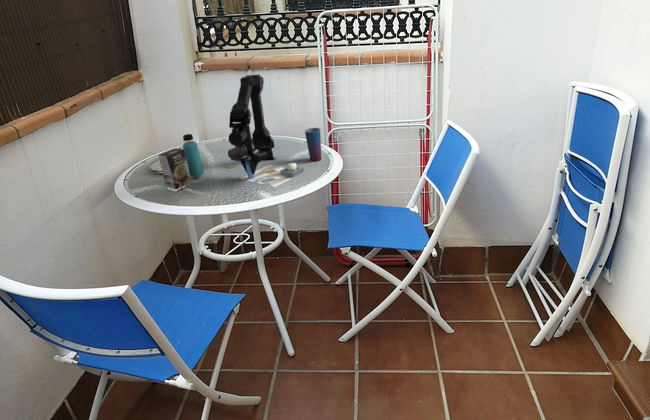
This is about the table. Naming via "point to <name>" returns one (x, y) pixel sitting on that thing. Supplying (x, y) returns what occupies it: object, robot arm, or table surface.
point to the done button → (291, 167)
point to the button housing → (292, 174)
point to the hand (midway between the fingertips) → (250, 173)
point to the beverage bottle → (192, 156)
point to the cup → (314, 143)
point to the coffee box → (175, 168)
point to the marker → (249, 170)
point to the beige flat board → (269, 176)
